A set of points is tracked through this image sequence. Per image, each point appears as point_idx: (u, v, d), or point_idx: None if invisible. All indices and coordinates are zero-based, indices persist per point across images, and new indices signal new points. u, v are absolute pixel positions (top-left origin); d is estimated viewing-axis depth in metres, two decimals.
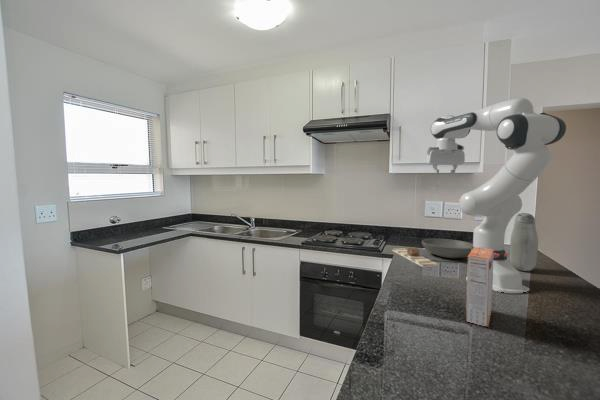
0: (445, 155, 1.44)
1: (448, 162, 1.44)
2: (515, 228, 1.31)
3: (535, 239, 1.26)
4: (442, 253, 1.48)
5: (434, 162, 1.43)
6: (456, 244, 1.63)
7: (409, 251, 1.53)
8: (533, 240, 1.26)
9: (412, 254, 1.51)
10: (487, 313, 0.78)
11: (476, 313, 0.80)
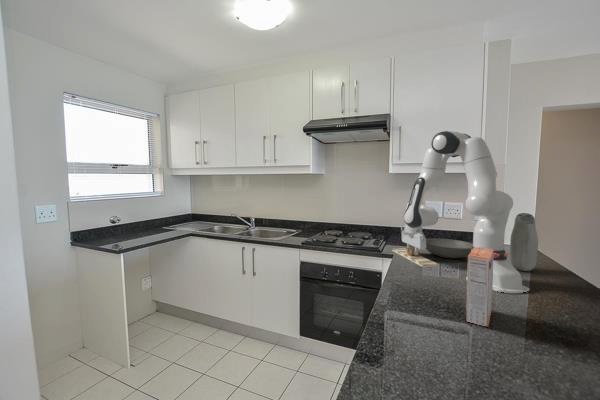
0: None
1: None
2: (515, 228, 1.31)
3: (535, 239, 1.26)
4: (442, 253, 1.48)
5: None
6: (456, 244, 1.63)
7: (409, 251, 1.53)
8: (533, 240, 1.26)
9: (412, 254, 1.51)
10: (487, 313, 0.78)
11: (476, 313, 0.80)
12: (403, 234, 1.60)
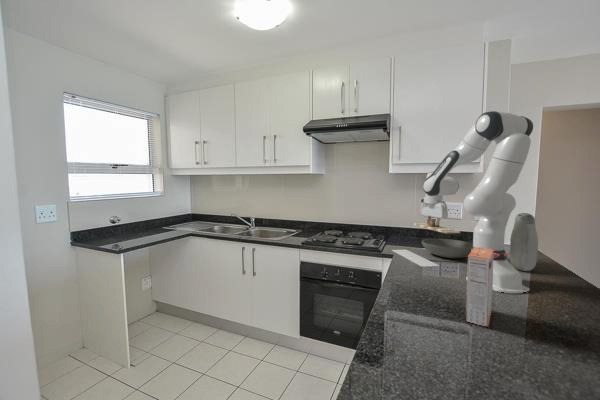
0: None
1: None
2: (515, 228, 1.31)
3: (535, 239, 1.26)
4: (442, 253, 1.48)
5: None
6: (456, 244, 1.63)
7: (429, 222, 1.53)
8: (533, 240, 1.26)
9: (432, 225, 1.51)
10: (487, 313, 0.78)
11: (476, 313, 0.80)
12: (422, 206, 1.61)
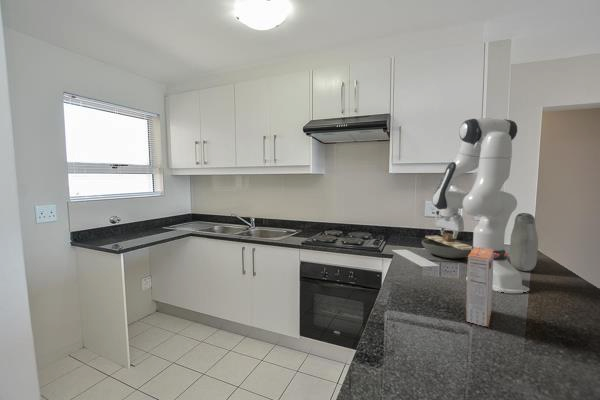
0: None
1: None
2: (515, 228, 1.31)
3: (535, 239, 1.26)
4: (442, 253, 1.48)
5: None
6: None
7: (445, 237, 1.55)
8: (533, 240, 1.26)
9: (448, 240, 1.53)
10: (487, 313, 0.78)
11: (476, 313, 0.80)
12: (437, 218, 1.62)
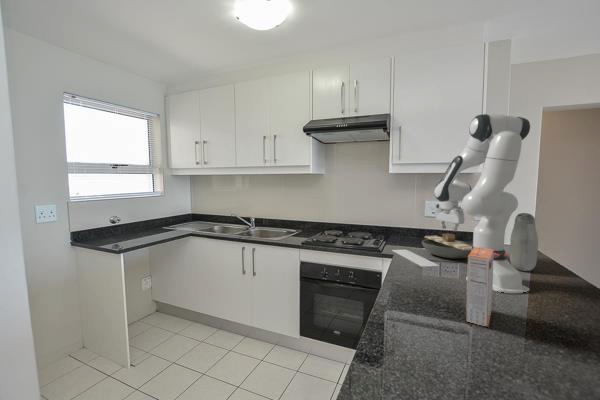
0: None
1: None
2: (515, 228, 1.31)
3: (535, 239, 1.26)
4: (443, 253, 1.47)
5: None
6: None
7: (445, 237, 1.55)
8: (533, 240, 1.26)
9: (448, 240, 1.53)
10: (487, 313, 0.78)
11: (476, 313, 0.80)
12: (437, 212, 1.62)
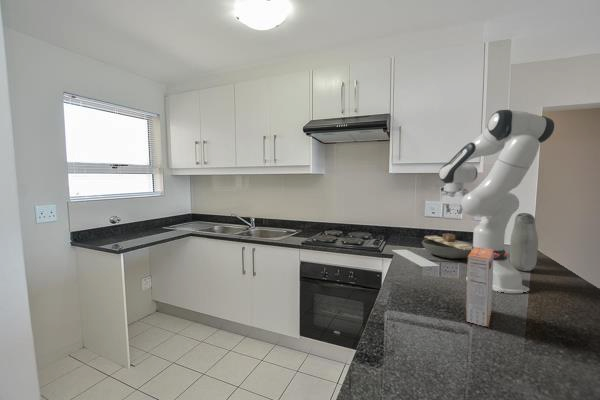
0: None
1: None
2: (515, 228, 1.31)
3: (535, 239, 1.26)
4: (443, 253, 1.47)
5: None
6: None
7: (445, 237, 1.55)
8: (533, 240, 1.26)
9: (449, 240, 1.53)
10: (487, 313, 0.78)
11: (476, 313, 0.80)
12: (442, 195, 1.61)
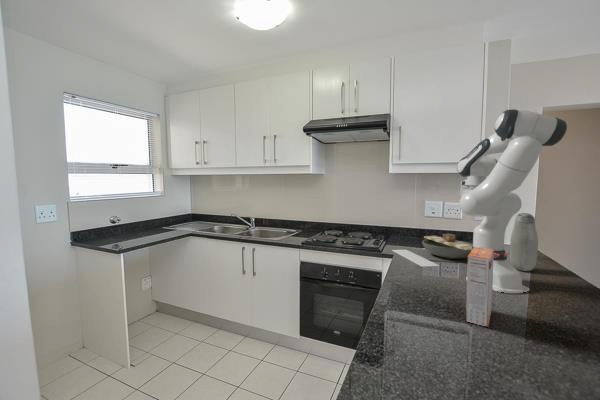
0: None
1: None
2: (515, 228, 1.31)
3: (535, 239, 1.26)
4: (444, 253, 1.47)
5: None
6: None
7: (445, 237, 1.55)
8: (533, 240, 1.26)
9: (449, 240, 1.53)
10: (487, 313, 0.78)
11: (476, 313, 0.80)
12: (463, 189, 1.58)
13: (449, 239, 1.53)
